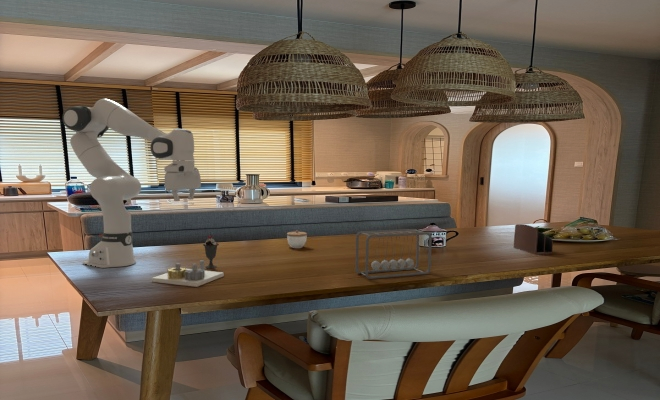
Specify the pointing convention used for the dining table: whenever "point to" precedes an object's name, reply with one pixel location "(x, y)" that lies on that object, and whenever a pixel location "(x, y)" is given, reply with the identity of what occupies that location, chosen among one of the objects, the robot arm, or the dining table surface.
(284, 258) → the dining table surface
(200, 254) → the dining table surface
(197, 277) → the gear board
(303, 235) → the lidded jar
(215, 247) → the sundae
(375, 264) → the newton's cradle
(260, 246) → the dining table surface
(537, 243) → the letter holder
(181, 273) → the gear
